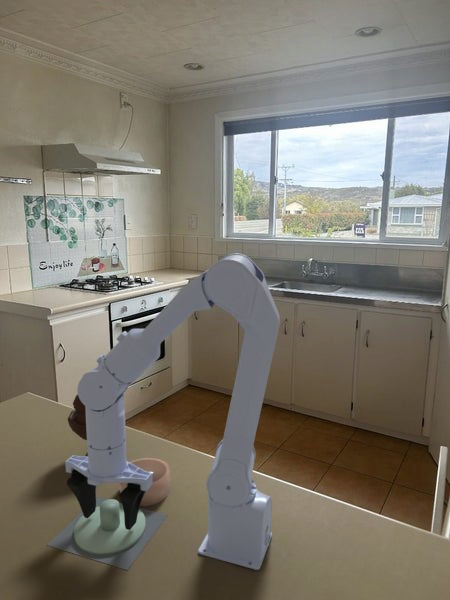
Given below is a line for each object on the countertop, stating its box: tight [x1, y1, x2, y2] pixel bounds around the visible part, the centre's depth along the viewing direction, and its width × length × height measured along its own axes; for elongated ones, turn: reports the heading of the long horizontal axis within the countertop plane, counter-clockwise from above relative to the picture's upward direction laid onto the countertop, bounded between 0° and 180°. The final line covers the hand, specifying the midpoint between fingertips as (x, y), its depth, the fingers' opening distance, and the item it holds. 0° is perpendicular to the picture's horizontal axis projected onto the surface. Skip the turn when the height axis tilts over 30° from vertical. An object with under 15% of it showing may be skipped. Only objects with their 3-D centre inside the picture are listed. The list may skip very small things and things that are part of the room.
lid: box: [74, 498, 146, 555], centre depth 71 cm, size 11×11×4 cm
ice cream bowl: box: [67, 393, 88, 456], centre depth 92 cm, size 11×11×15 cm
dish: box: [119, 457, 171, 507], centre depth 81 cm, size 9×9×4 cm
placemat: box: [46, 496, 169, 571], centre depth 72 cm, size 14×13×1 cm
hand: (110, 519), depth 71 cm, fingers open, 7 cm apart
